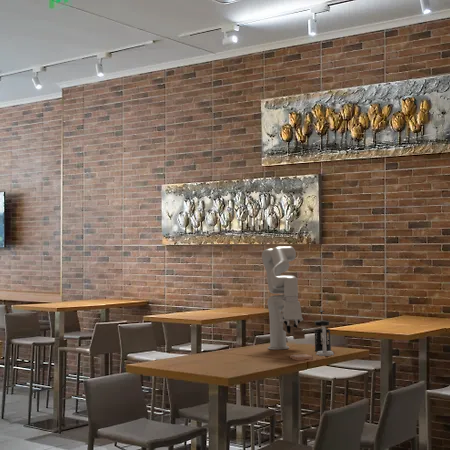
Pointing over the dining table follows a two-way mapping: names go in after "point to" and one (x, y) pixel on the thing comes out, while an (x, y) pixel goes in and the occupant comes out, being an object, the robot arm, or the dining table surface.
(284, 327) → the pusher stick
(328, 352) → the black and grey stand
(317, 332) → the french press
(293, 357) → the tile
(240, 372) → the dining table surface
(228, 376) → the dining table surface
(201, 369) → the dining table surface
